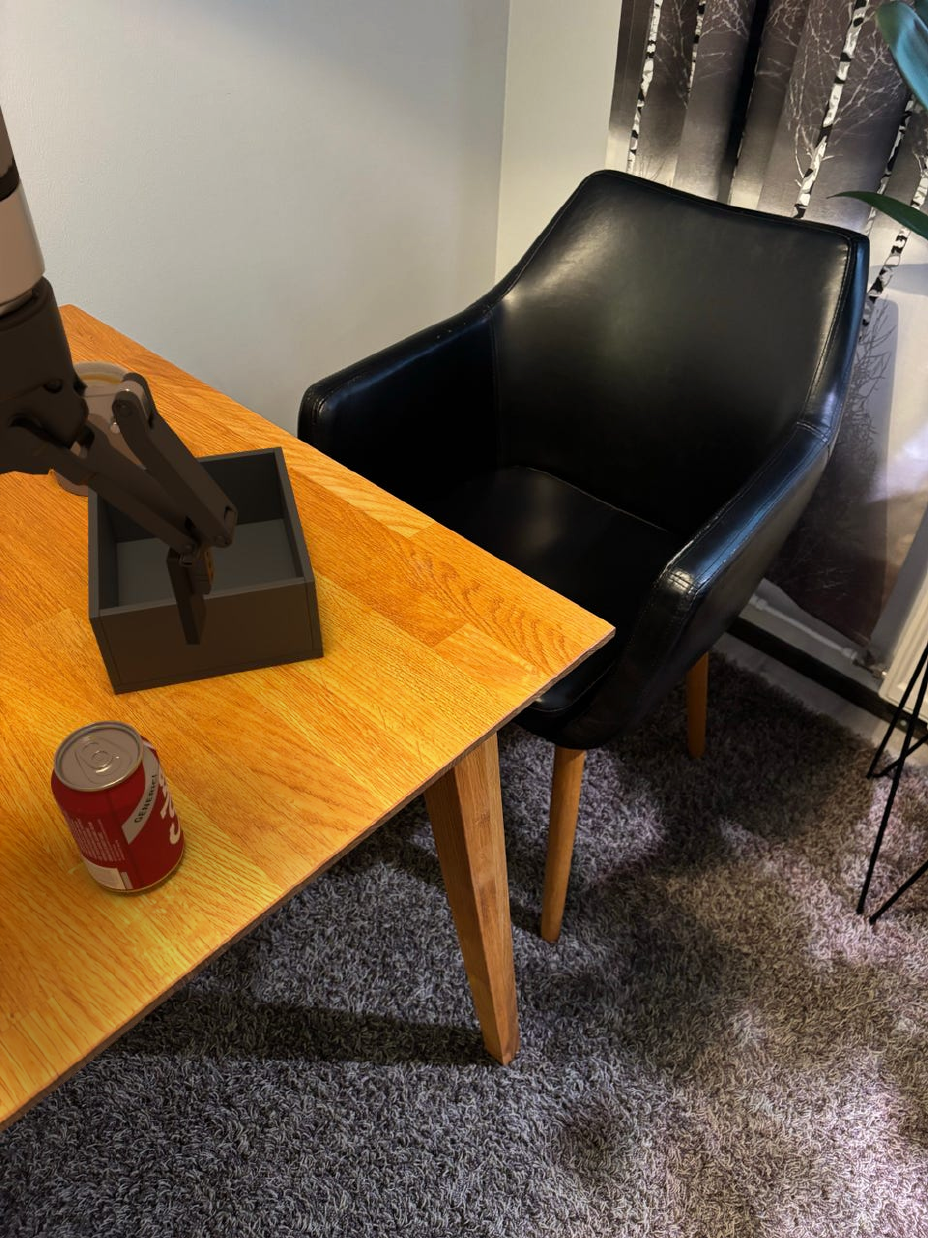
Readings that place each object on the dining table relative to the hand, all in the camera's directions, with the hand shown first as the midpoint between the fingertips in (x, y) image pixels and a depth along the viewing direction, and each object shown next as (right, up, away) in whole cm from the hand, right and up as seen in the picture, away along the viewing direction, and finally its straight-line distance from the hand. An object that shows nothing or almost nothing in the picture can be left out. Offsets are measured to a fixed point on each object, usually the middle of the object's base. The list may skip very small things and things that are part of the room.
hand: (81, 630), depth 57 cm
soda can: (-1, -17, +13) cm, 21 cm away
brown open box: (-1, +2, +32) cm, 32 cm away
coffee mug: (-16, +18, +47) cm, 53 cm away
